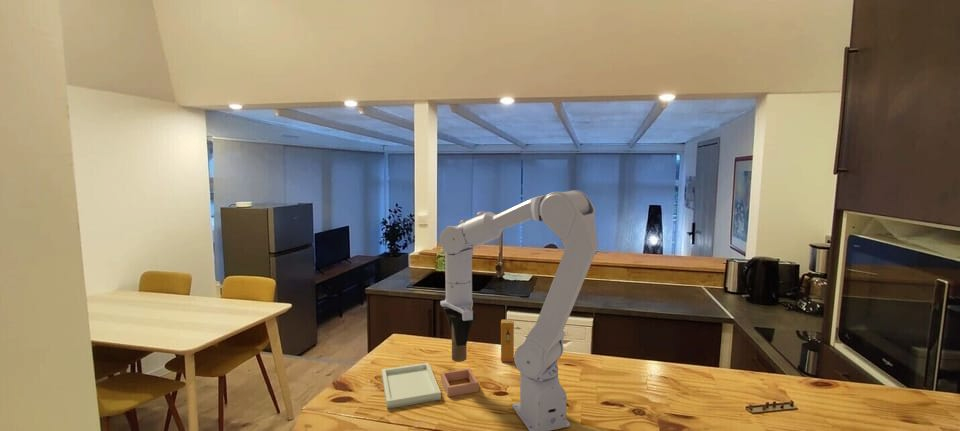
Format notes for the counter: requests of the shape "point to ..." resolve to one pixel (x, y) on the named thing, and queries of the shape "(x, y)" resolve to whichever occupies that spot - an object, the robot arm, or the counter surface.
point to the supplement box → (507, 341)
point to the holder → (459, 388)
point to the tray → (409, 385)
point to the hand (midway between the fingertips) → (459, 341)
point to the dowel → (457, 350)
